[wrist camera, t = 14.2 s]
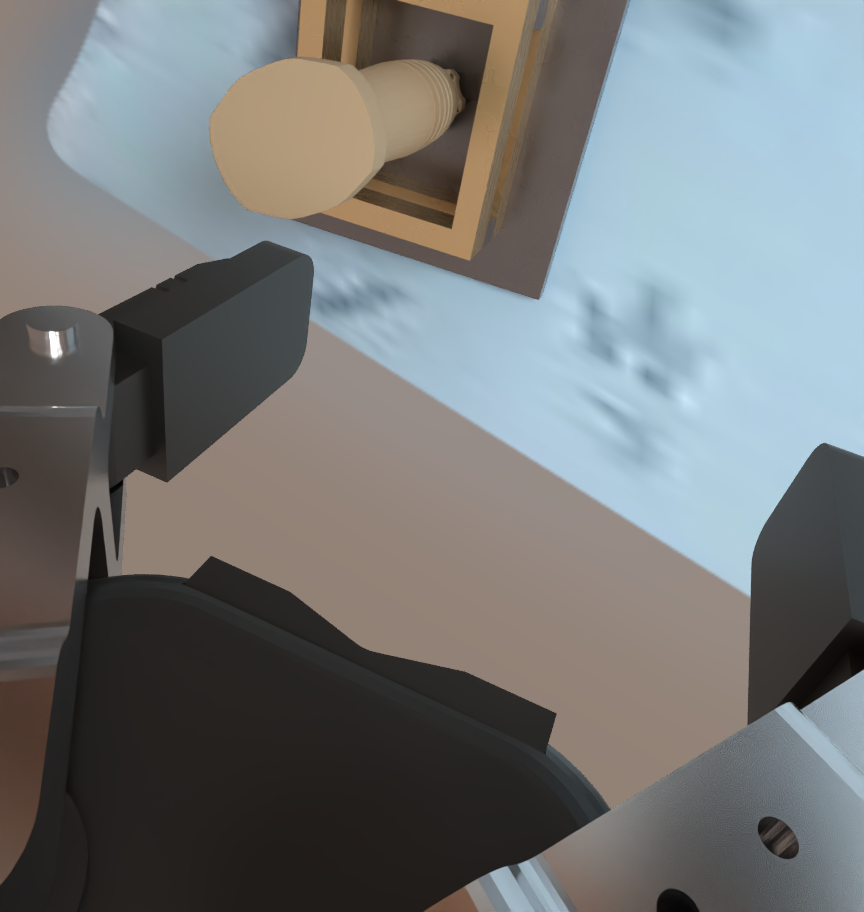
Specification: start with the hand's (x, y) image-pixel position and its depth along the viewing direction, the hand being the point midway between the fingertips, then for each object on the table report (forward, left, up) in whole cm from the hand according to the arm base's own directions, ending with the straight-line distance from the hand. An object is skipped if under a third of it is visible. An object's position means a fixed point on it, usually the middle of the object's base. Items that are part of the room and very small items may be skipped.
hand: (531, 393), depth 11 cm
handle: (+2, -12, -29) cm, 31 cm away
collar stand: (+2, -12, -30) cm, 32 cm away
